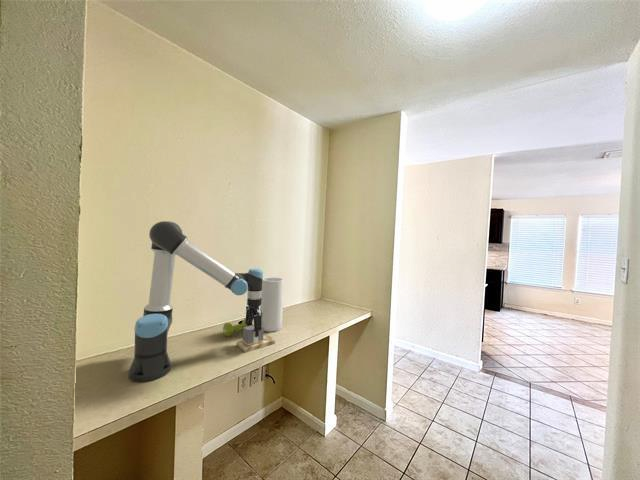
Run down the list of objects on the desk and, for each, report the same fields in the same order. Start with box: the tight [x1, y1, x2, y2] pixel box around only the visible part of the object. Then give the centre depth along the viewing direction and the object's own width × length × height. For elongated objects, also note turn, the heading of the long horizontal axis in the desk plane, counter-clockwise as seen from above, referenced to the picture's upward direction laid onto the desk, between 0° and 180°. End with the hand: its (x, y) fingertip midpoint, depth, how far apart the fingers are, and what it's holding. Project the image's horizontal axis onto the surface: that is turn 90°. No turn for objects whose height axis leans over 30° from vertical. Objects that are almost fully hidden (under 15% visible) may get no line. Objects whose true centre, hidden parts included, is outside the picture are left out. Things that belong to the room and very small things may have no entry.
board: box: [236, 333, 276, 353], centre depth 144 cm, size 18×10×2 cm, turn 132°
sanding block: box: [242, 324, 265, 346], centre depth 143 cm, size 9×6×8 cm, turn 133°
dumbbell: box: [222, 317, 247, 338], centre depth 158 cm, size 16×8×7 cm, turn 136°
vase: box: [259, 276, 285, 333], centre depth 168 cm, size 14×14×32 cm
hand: (252, 340), depth 142 cm, fingers closed on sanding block, 6 cm apart
